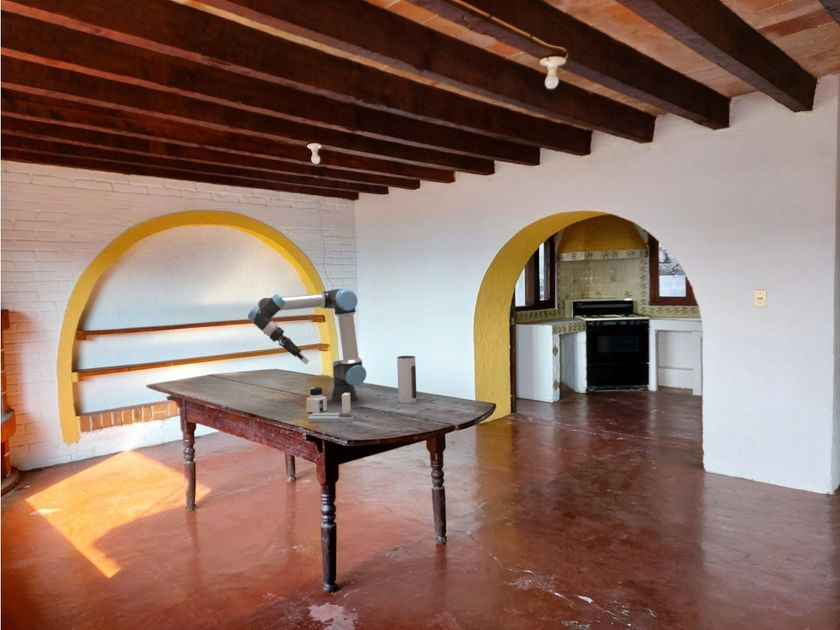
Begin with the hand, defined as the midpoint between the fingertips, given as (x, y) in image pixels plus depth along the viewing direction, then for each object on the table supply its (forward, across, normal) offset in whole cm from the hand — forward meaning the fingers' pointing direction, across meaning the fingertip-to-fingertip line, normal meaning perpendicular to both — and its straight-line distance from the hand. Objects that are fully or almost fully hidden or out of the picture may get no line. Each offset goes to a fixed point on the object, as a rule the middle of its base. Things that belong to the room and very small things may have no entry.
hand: (307, 362), depth 305 cm
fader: (+33, +10, -3) cm, 35 cm away
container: (+21, -7, -19) cm, 29 cm away
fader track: (+29, +10, -10) cm, 32 cm away
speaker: (+55, -29, +13) cm, 63 cm away
